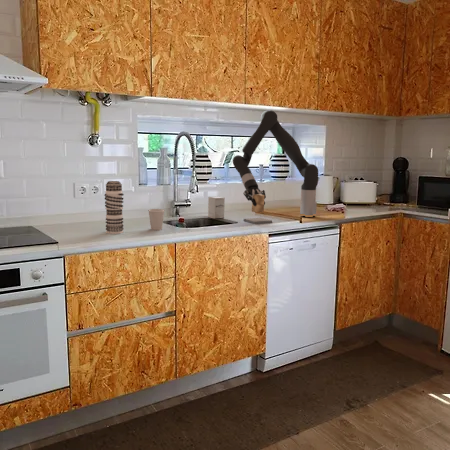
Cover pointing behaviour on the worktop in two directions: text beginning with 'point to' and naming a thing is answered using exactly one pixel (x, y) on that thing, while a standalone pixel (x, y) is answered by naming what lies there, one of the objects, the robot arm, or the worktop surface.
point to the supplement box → (216, 207)
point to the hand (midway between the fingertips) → (259, 205)
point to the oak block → (258, 203)
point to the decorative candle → (114, 207)
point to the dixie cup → (156, 218)
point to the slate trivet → (258, 220)
